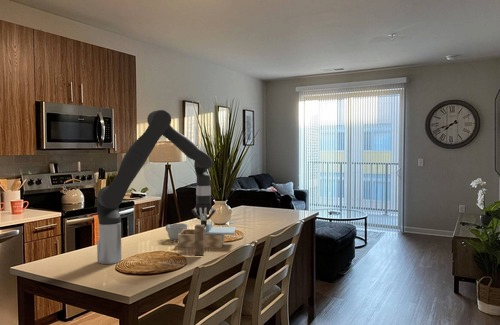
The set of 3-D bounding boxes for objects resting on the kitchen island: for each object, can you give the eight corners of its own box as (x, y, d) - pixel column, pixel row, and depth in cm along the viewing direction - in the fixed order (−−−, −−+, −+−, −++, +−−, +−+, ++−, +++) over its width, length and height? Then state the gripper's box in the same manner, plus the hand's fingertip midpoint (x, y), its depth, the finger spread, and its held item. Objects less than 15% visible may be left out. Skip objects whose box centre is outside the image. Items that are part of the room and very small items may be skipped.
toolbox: (178, 248, 187) (177, 234, 187) (183, 242, 200) (183, 229, 200) (221, 249, 186) (221, 235, 186) (224, 242, 199) (224, 229, 199)
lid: (203, 234, 187) (203, 226, 187) (207, 228, 199) (207, 221, 199) (233, 234, 186) (233, 226, 186) (235, 229, 199) (235, 221, 198)
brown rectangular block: (194, 255, 174) (194, 226, 174) (196, 253, 178) (196, 224, 178) (203, 256, 174) (203, 226, 174) (204, 253, 178) (204, 224, 178)
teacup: (191, 239, 206) (191, 225, 206) (175, 243, 198) (175, 228, 198) (176, 235, 216) (176, 221, 216) (160, 238, 208) (160, 224, 208)
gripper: (217, 193, 196) (217, 226, 197) (192, 193, 197) (192, 225, 197) (215, 195, 188) (215, 229, 189) (189, 195, 189) (189, 229, 190)
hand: (203, 227), depth 193 cm, fingers closed
